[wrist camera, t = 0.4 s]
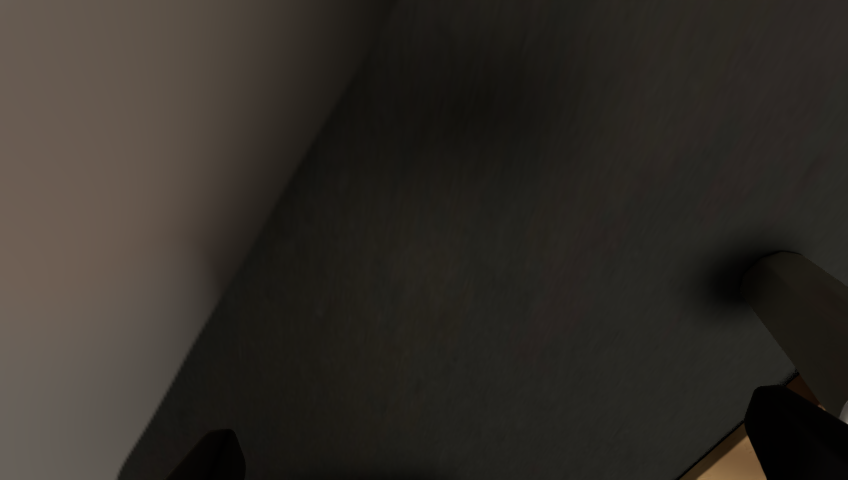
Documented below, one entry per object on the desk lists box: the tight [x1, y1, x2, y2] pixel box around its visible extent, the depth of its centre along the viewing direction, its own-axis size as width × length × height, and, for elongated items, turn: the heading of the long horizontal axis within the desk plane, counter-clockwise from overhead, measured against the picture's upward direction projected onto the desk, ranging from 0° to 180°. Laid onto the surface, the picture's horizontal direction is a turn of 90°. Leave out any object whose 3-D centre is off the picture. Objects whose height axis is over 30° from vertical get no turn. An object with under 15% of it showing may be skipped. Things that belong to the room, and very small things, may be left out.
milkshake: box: [740, 251, 848, 424], centre depth 22 cm, size 5×5×10 cm
